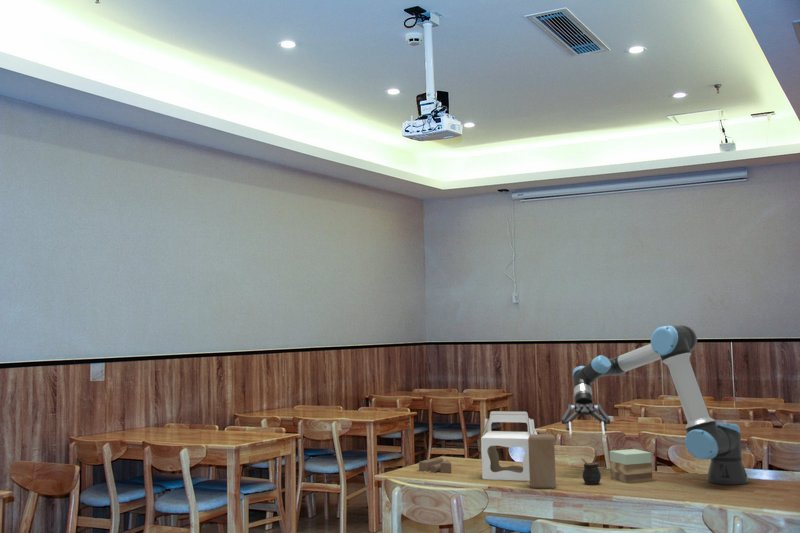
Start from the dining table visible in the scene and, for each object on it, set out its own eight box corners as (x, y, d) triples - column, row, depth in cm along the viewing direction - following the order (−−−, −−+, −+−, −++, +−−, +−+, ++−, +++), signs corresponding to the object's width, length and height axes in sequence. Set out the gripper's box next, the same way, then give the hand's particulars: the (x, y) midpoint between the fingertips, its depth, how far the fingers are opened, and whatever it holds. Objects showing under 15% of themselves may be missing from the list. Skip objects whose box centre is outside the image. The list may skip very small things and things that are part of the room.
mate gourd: (598, 485, 325) (596, 460, 326) (580, 484, 329) (578, 459, 330) (603, 482, 332) (601, 457, 333) (585, 481, 335) (583, 457, 336)
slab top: (651, 462, 333) (651, 452, 334) (625, 464, 330) (625, 454, 330) (634, 458, 345) (634, 449, 345) (609, 460, 341) (609, 451, 342)
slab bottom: (652, 482, 333) (652, 472, 333) (626, 484, 329) (626, 474, 330) (636, 478, 344) (635, 468, 345) (610, 480, 341) (610, 470, 341)
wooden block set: (417, 459, 373) (437, 454, 388) (417, 472, 373) (437, 466, 388) (449, 461, 364) (468, 456, 379) (450, 474, 364) (469, 468, 379)
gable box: (481, 479, 348) (479, 412, 350) (490, 474, 360) (488, 409, 362) (533, 481, 339) (530, 413, 342) (540, 476, 351) (537, 410, 354)
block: (555, 488, 322) (553, 437, 323) (529, 488, 324) (527, 437, 325) (556, 484, 331) (553, 434, 333) (531, 483, 333) (529, 434, 335)
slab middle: (652, 472, 333) (651, 462, 334) (626, 474, 330) (626, 464, 330) (635, 468, 345) (634, 458, 345) (610, 470, 341) (609, 460, 341)
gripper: (612, 402, 360) (617, 441, 344) (554, 402, 364) (556, 441, 348) (612, 391, 355) (618, 430, 339) (554, 391, 359) (557, 430, 343)
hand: (587, 436), depth 344 cm, fingers open, 13 cm apart
